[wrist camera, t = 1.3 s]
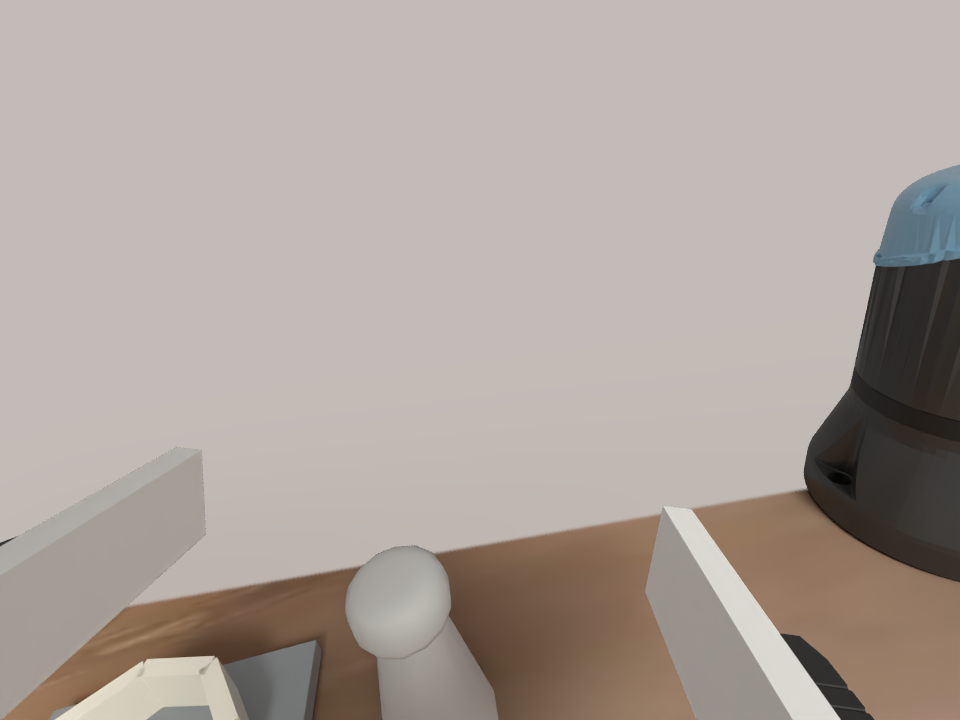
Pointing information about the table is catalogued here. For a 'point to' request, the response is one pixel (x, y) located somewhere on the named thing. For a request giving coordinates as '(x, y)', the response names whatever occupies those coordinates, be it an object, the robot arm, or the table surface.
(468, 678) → the salt shaker
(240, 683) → the slate board
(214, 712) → the ring holder
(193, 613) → the table surface
